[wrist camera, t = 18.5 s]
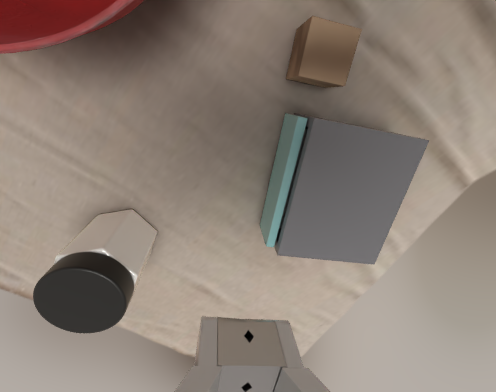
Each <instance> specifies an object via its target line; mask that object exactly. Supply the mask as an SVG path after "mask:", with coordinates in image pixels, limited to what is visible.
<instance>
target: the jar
mask: <svg viewBox="0 0 496 392" xmlns="http://www.w3.org/2000/svg"><path fill="white" fill-rule="evenodd" d="M156 235H157V230H155V229H154V228H153V227H152V226H151V225H150V224H149V223H148V222H146V221H145V220H144V219H143V218H142V217H141V216H140V215H139V214H138V213H136V212H135V211H134V210H133V209H130V210H124V211H118V212H112V213H105V214H99V215H97V216H96V217H95V218H94V219H93V220H92V221H91V222H90V223H89V224H88V225H87V226H86V227H85V228H84V229H83V230H82V231H81V232H80V233H79V234H78V235H77V236H76V237H75V238H74V239H73V240H72V241H71V242H70V243H69V244H68V245H67V246H66V247H65V248H64V249H63V250H62V251H61V252H60V253H59V254H58V255H57V256H56V258H55V264H54V265H53V266H52V267H51V269H50V270H49V271H48V272H47V273H46V274H45V275H44V276H43V277H42V278H41V279H40V280H39V281H38V283H37V284H36V286H35V288H34V293H33V299H34V304H35V307H36V308H37V310H38V312H39V313H40V315H41V316H42V317H43V318H45V319H46V320H47V321H48V322H50V323H51V324H53V325H55V326H56V327H59V328H61V329H63V330H66V331H70V332H76V333H95V332H100V331H103V330H106V329H108V328H110V327H112V326H114V325H115V324H117V323H118V322H119V321H120V320H121V318H122V317H123V316H124V314H125V312H126V309H127V307H128V305H129V303H130V301H131V299H132V296H133V294H134V292H135V289H136V287H137V285H138V282H139V280H140V278H141V276H142V273H143V271H144V269H145V266H146V264H147V262H148V259H149V257H150V254H151V251H152V248H153V245H154V242H155V239H156Z"/></svg>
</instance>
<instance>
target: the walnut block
mask: <svg viewBox="0 0 496 392" xmlns="http://www.w3.org/2000/svg"><path fill="white" fill-rule="evenodd" d="M361 30H362V29H359V28H355V27H351V26H348V25H344V24H340V23H337V22H333V21H329V20H326V19H322V18H318V17H315V16H312V17H311V18H309V19H308V20H307V21H306V22H305V23H304V24H302V25H301V26H300V27H299V28H298V29H297V30H296V35H295V39H294V44H293V48H292V53H291V57H290V62H289V67H288V71H287V76H286V79H288V80H293V81H297V82H302V83H306V84H311V85H315V86H320V87H325V88H328V87H341V86H345V84H346V81H347V77H348V74H349V71H350V67H351V64H352V61H353V57H354V54H355V51H356V47H357V44H358V41H359V37H360V34H361Z"/></svg>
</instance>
